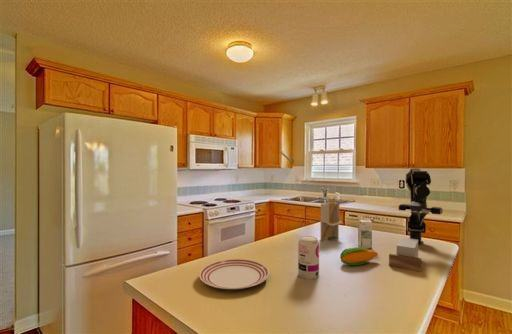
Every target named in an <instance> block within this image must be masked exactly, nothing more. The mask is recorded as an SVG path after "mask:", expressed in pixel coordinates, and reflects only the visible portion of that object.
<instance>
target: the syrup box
mask: <svg viewBox="0 0 512 334" xmlns="http://www.w3.org/2000/svg"><path fill="white" fill-rule="evenodd" d="M357 223H358V225H357V244H358V247H368V249H372V248H373V247H372V246H373V245H372V244H373V221H372V220H370V219H358V220H357Z"/></svg>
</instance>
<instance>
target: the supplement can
mask: <svg viewBox="0 0 512 334" xmlns="http://www.w3.org/2000/svg"><path fill="white" fill-rule="evenodd" d="M319 250H320V242H319V240H318V238H317V237H315V236H309V235H306V236H305V235H303V236H300V237H299V239H298V242H297V254H298V255H297V258H298V259H297V267H298V268H297V269H298V270H297V273H298V276H300V277H301V278H303V279H306V280H307V279H308V280H312V279H313V280H314V279H317V278H318V277H319V275H320V251H319Z"/></svg>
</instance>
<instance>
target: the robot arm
mask: <svg viewBox="0 0 512 334" xmlns="http://www.w3.org/2000/svg"><path fill="white" fill-rule="evenodd" d="M405 184H406V187H407V189H408V190H409V193H410V197H409V198H410V204H406V203H401V204H399V205H398V211H403V212H404V211H406V210H409V211H410V216H409V217H408V220H407V222H406V231H407V232H408V233H409V238H410V239H417V240H418V245H422V244H423V243H424V241H422V234H425V233H426V229H427V224H426V223H425V220H424V219H425V218H426V216H427V215H428V214H430V213H431V214H432V215H442V214H443V208H442V207H439V206H432V207H428V204H427V197H429V195H430V194H431V190H430V187H428V185H429V186H430V185H431V184H432V179H431V175H430V173H428V171H427V170H421V168H410V169H409V171H408V172H407V173H406V175H405Z"/></svg>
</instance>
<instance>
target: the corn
mask: <svg viewBox="0 0 512 334" xmlns="http://www.w3.org/2000/svg"><path fill="white" fill-rule="evenodd" d="M376 257H378V252H376V251H375V250H373V249H369V248H368V247H360V246H358V247H349V248H345V249H344V250H342V252H341V253H340V256H339V258H340V261H341V262H342V263H343V264H345V265H347V266H358V265H364V264H369V263H370V261H372V260H373V259H375V258H376Z"/></svg>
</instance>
